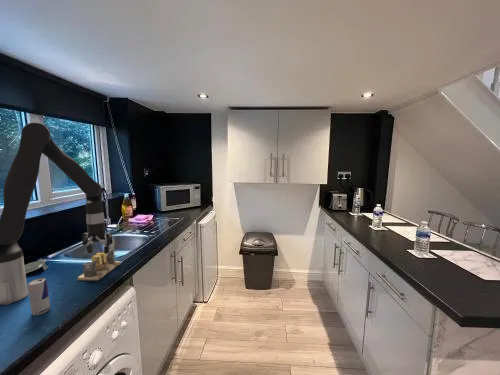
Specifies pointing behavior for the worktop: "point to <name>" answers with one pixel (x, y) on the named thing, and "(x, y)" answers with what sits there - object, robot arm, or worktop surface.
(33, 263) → the metal bracket
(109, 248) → the shafts
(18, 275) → the robot arm
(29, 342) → the worktop surface
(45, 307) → the energy drink
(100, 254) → the slotted brass block
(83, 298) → the worktop surface
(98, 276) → the coupling base
